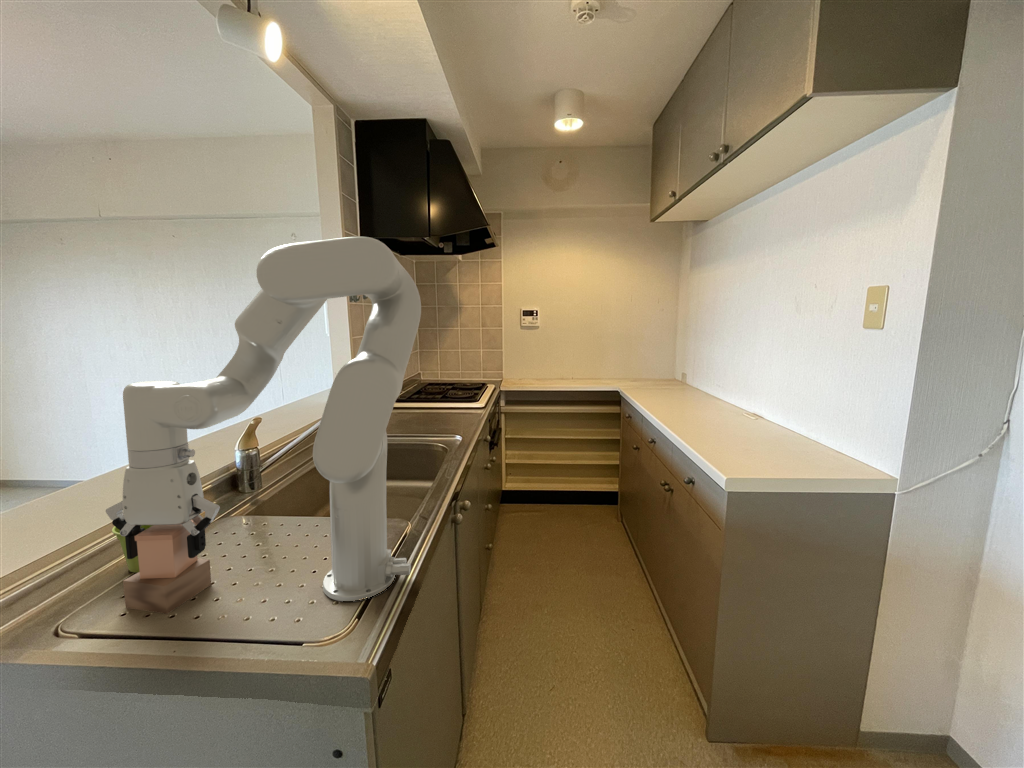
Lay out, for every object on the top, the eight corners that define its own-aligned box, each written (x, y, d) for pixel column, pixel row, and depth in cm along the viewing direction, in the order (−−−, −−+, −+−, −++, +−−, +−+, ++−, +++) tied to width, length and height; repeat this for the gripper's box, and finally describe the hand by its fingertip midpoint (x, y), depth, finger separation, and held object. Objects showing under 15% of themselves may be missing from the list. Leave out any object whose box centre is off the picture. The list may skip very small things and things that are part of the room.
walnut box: (211, 585, 74) (209, 559, 73) (167, 615, 66) (165, 586, 65) (173, 580, 75) (171, 555, 74) (125, 609, 67) (123, 580, 66)
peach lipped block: (199, 559, 73) (196, 519, 72) (175, 578, 67) (172, 535, 66) (164, 560, 72) (161, 520, 72) (138, 579, 67) (134, 536, 66)
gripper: (228, 449, 72) (234, 542, 74) (123, 449, 70) (131, 544, 72) (199, 463, 64) (206, 565, 66) (81, 463, 63) (91, 567, 65)
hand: (167, 554), depth 69 cm, fingers open, 9 cm apart
